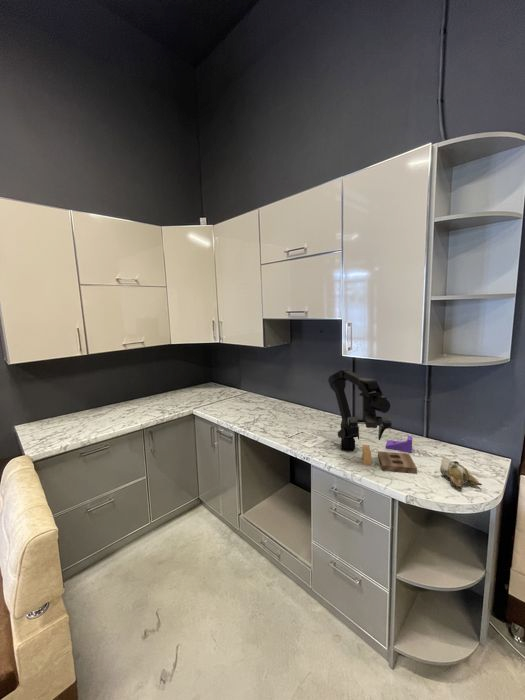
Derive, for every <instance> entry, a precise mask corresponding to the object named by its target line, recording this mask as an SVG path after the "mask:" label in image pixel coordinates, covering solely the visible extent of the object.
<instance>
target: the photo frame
mask: <svg viewBox="0 0 525 700" xmlns="http://www.w3.org/2000/svg"><path fill="white" fill-rule="evenodd" d="M302 432H303V434H307V435H309V436H312V437H315V438H314V439H311V440H308V441H307V442H304V443H301V442H298V441H296V440H293V439H291V438H290V437H293V436H295V435H297V434H298V435H299V434H300V433H302ZM284 439H285V440H288V441H291V442H293V443H295V444H298V445H300V446H303V447H305V448H308V449H312V448H315V447H316V446H318V445H320V444H322V443H325V442H328V439H327V438H324V437H321V436H318V435H315V434H313V433H309V432H307V431H304V430H301V431H298V432H295V433H293V434H291V435H288V436H285V437H284Z"/></svg>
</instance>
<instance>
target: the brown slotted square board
mask: <svg viewBox="0 0 525 700" xmlns="http://www.w3.org/2000/svg"><path fill="white" fill-rule="evenodd" d="M377 458H378V461H379V464H380V468H381V470H382V471H383V472H395V473H404V474H405V473H406V474H417V473H418V468H417V466H416V463H415V462H414V460H413V458H412V457H411V455H410V453H408V452H393V451H392V452H390V451H377Z"/></svg>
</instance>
